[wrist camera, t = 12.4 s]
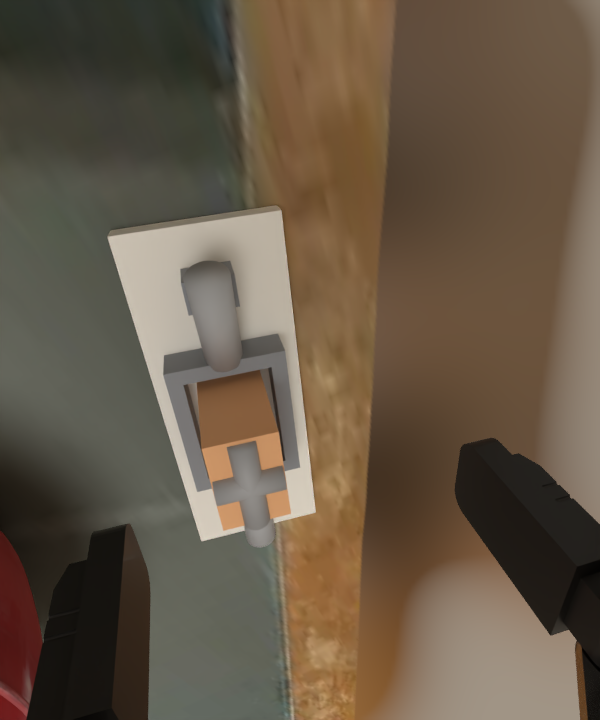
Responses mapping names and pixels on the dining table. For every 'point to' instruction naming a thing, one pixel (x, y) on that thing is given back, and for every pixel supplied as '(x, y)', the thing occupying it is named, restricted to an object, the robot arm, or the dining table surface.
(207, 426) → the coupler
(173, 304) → the shaft rig
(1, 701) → the mixing bowl
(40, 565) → the dining table surface
